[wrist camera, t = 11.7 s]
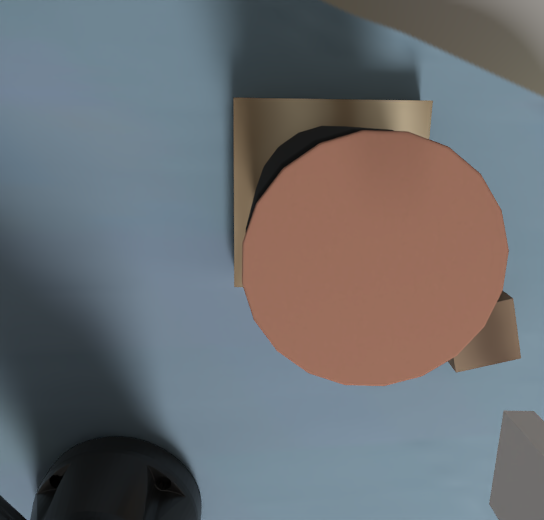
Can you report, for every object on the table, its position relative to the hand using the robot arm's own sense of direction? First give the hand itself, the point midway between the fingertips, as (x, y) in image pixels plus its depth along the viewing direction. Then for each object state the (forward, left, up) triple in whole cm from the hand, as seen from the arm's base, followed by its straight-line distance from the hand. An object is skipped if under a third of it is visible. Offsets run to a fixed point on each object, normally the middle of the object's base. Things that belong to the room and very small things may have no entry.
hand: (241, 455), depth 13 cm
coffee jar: (+5, +3, -27) cm, 27 cm away
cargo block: (+17, -7, -30) cm, 35 cm away
